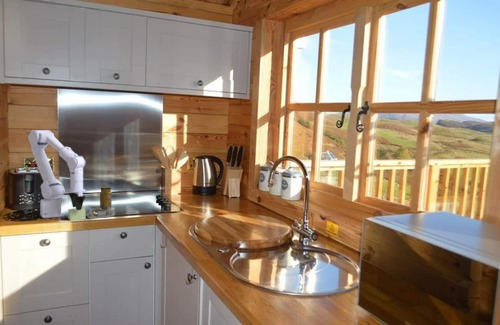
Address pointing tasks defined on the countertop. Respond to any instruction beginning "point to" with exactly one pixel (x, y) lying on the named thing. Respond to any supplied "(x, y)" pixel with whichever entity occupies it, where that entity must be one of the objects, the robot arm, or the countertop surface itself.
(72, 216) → the pale green block
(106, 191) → the condiment
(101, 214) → the chassis
